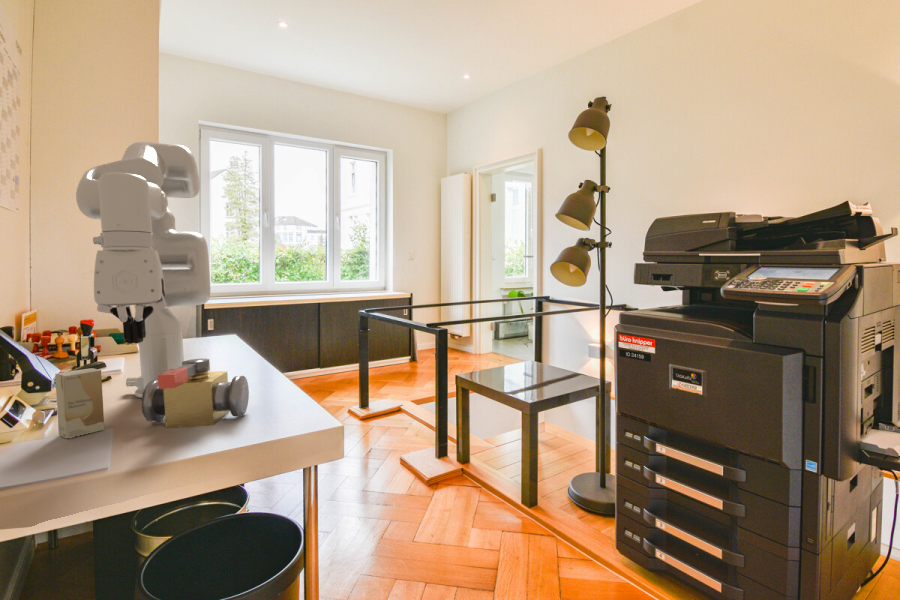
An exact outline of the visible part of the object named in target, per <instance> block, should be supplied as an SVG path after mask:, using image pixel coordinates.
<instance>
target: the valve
mask: <svg viewBox="0 0 900 600" xmlns="http://www.w3.org/2000/svg"><path fill="white" fill-rule="evenodd" d="M228 378H229V377H228V370H224V371H208V372H204V373H199V374H195V375H193V376H192V377H190V378H188V381H187V382H185V383H183V384H181V385H180V386H178V387H176V388H167V389H159V387H158V380H152V381H150V382H149V383H148V384H147V386H146V387H145V389H144V392H143V396H142V398H141V412H142V414H143V417H144V419H145V420H146V421H147V422H160V421H162V420H163V419H164V418H165V428H166V429H172V428H173V429H174V428H187V427H189V428H190V426H191V427H205V426H206V427H207V426H208V427H209V426H214V425H216V424H217V423H218V422H219V421H220V420H222V418H223V417H224V416H225V415H227V414H228V413H227V412H230V414H231V416H232V417H242V416H244V415H245V413H247V408H248V405H249V398H250V397H249V395H250V392H249V391H250V390H249V383H248V379H247V377H246V376H245V375H241V376H240V375H236V376H234V377H232V380H231V381H230V382H229V380H228ZM226 413H227V414H226Z"/></svg>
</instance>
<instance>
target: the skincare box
mask: <svg viewBox="0 0 900 600" xmlns="http://www.w3.org/2000/svg"><path fill="white" fill-rule="evenodd" d="M54 378H55V391H56V393H55V395H56V409H57V410H56V411H57V422H58V423H57V427H58V435H59V436H60V437H62V438H64V439H66V438H70V437H73V438H76V437H75V436H77V437H80V435H81V436H84V434H85V435H87V434H88V433H89V434H92V433H97V432H100V431H104V430H105V416H104V415H105V414H104V398H103V380H102V370H101V369H99V368H98V369H97V368H94V367H91V368H84V369H78V370H77V369H76V370H70V371H64V372H59V373H55V374H54ZM70 439H71V438H70Z"/></svg>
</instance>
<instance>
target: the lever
mask: <svg viewBox="0 0 900 600" xmlns="http://www.w3.org/2000/svg"><path fill="white" fill-rule="evenodd" d="M210 367H211V366H210V359H209V358H193V359H188V360H184V361H183V362H182V366H181V367H178V368H176V369H170V370H168V371H166V372H164V373H162V374H160V375H158V387H159V389H167V388H176V387H178V386H180V385H181V384H183V383H185V382H187V381H188V378H190V377H192V376H193V375H195V374H199V373H204V372H211V371H210V370H211V368H210Z"/></svg>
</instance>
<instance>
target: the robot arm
mask: <svg viewBox="0 0 900 600" xmlns="http://www.w3.org/2000/svg"><path fill="white" fill-rule="evenodd" d="M200 183H201V182H200V177H199V171H198V166H197V162H196V159H195V156H194V154H193V153H192V151H191V150H190V149H189V148H188V147H186V146H184V145H181V144H173V143H172V144H171V143H161V142H150V141H140V142H139V141H137V142H133V143H131V144H130V145H129V146H128V147H127V148H126V149H125V151H124V153H123V156H122V157H121V159H120V160H116V161H115V160H114V161H112V162H108V163H104V164H100V165H96V166H92V167H91V168H89V169H87V170H86V171H85V172H84V173H83V175H82V177H81V178H80V180H79V182H78V184H77V188H76V192H75V199H76V204H77V207H78V209H79V211H80V212H81V213H82V214H83V215H84V216H85V217H87V218H88V219H93V220H100V225H101V226H100V227H101V232H100V235H99V236H93V237H92V243H93V244H94V245H99V246H101V248H102V250H100V249H99V250H97V252H96V256H95V261H94V272H93V273H94V274H93V296H94V302H95V303H96V304H97V306H96V307H97V308H96V310H97V311H98V312H99V313H106V314H112V315H113V316H115V317H116V318H117V319H118V320H119V321H120V322H121V323H122V327H123V328H122V329H123V338H124V339H125V340H126V343H127V345H130V344H133V343H134V344H138V351H139V352H138V353H139V363H140V364H139V365H140V376H138V377H137V376H136V377H127V379H126V381H125V386H126V387H137V388H136V390H135V391H134V396H135V397H136V398H139V399H140V398H141V399H142V396H143V392H144V389H145V387H146V386H147V384H148V383H149V382H150V381H152V380H158V375H160V374H162V373H164V372H166V371H168V370H170V369H176V368H178V367H181V366H182V362H183V361H185V355H184V338H183V337H184V336H183V326H182V322H181V320H180V318H179V317H178V316H177V315H176V314H175V313H174V312H173V311H172V310H170V309H169V308H171V307H173V308H174V307H183V306H184V307H186V306H187V307H188V306H189V307H190V306H200V305H204V304H207V302H208V301H209V300H210V297H211V278H210V277H211V276H210V257H209V249H208V243H207V241H206V238H205V236H203V235H202V234H201V233H198V232H195V231H176V217H175V215H174V214H173V212H172V211H171V210H170V209H169V201H168V198H174V199H176V198H179V199H180V198H181V199H192V198H195V197H196V196H197V195H199V192H200V188H201V186H200ZM166 268H167V269H166ZM172 268H174V269H172ZM176 268H178V269H176ZM179 268H181V269H179ZM182 268H183V269H182ZM184 268H186V269H184ZM131 306H134V309H135V310H134V311H135V313H134V316H133V313H132V309H131Z"/></svg>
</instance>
